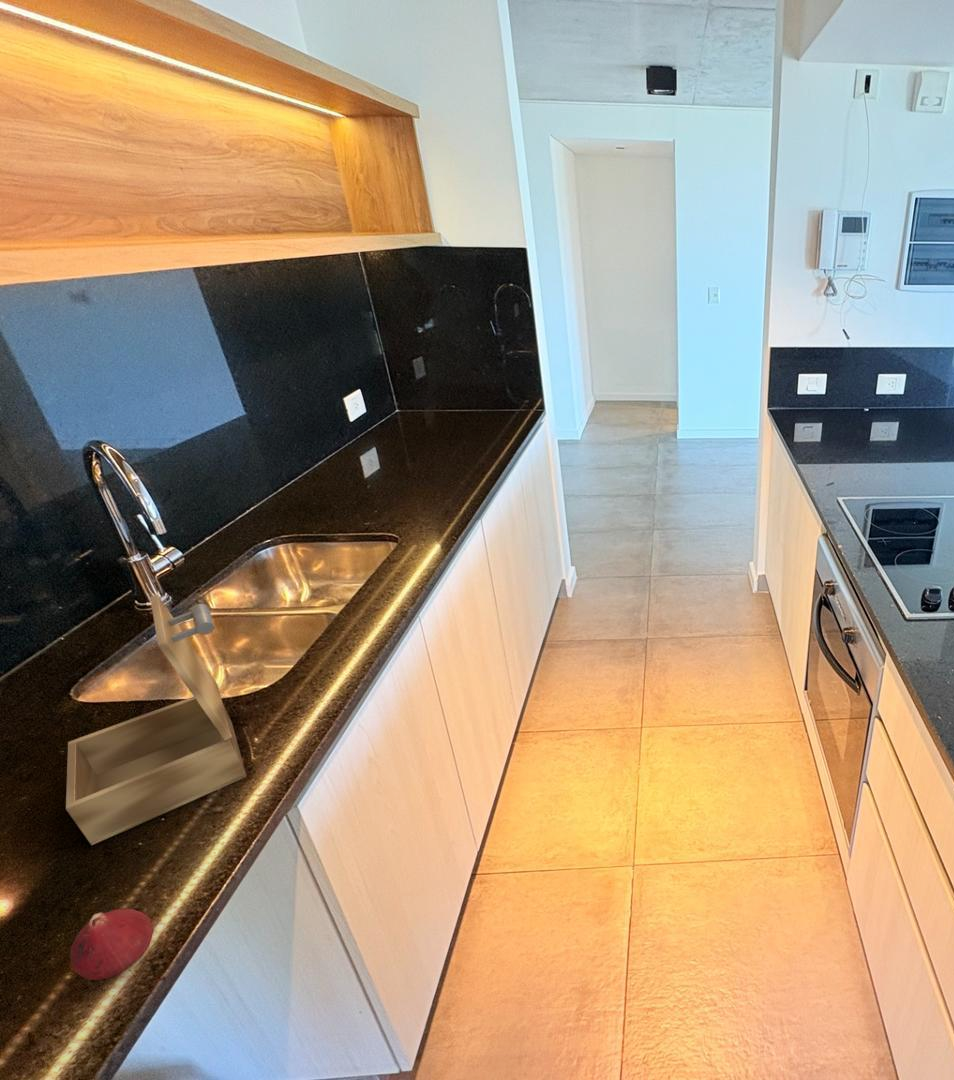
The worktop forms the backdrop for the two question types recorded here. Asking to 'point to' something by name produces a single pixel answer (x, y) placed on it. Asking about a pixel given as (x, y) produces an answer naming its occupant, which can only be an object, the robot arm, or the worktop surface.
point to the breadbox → (147, 768)
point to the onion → (110, 943)
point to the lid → (190, 658)
